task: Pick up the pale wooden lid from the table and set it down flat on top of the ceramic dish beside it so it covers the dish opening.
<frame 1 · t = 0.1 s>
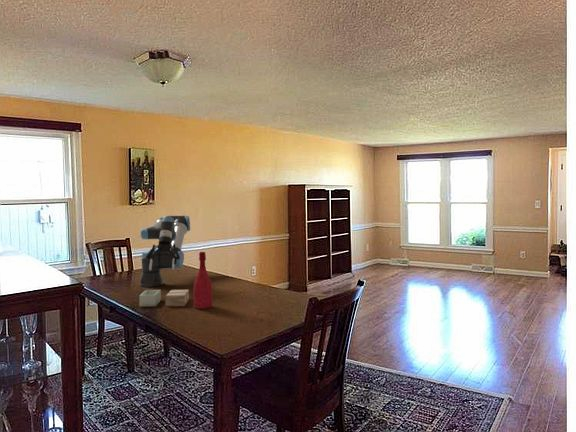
hand: (161, 269, 258), 15 cm above the table, tool tilted 35°, fingers open, 13 cm apart
lid: (177, 303, 240), on the table
wine bottle: (203, 307, 230), on the table
dish: (150, 303, 239), on the table
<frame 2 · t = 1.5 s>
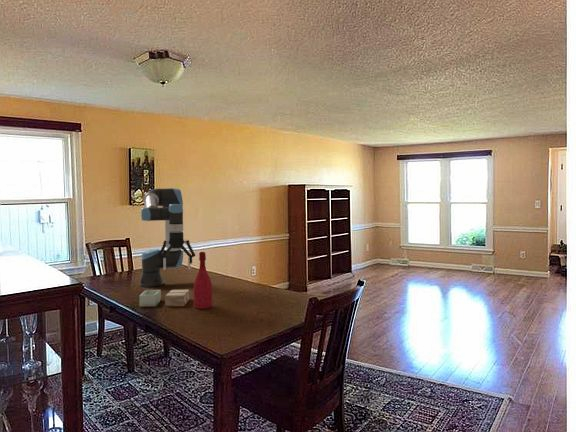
hand: (177, 269, 239), 19 cm above the table, tool pointing down, fingers open, 13 cm apart
nothing on the table moved.
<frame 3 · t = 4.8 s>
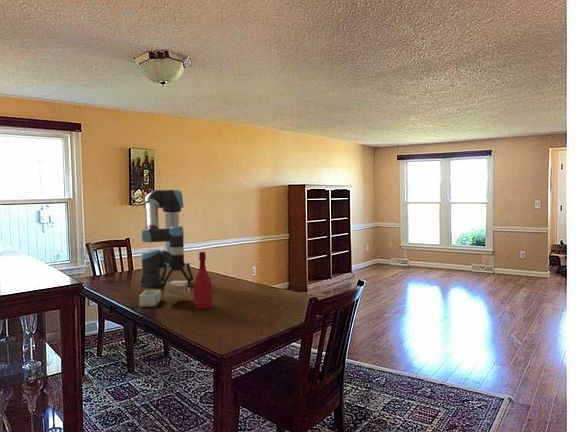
hand: (177, 293, 240), 5 cm above the table, tool pointing down, fingers closed on lid, 10 cm apart
lid: (177, 294, 240), point 5 cm above the table, touching gripper
everything else where it was.
when the fingers open (7 cm above the table, at t = 8.7 s): lid stays where it is, resting on dish.
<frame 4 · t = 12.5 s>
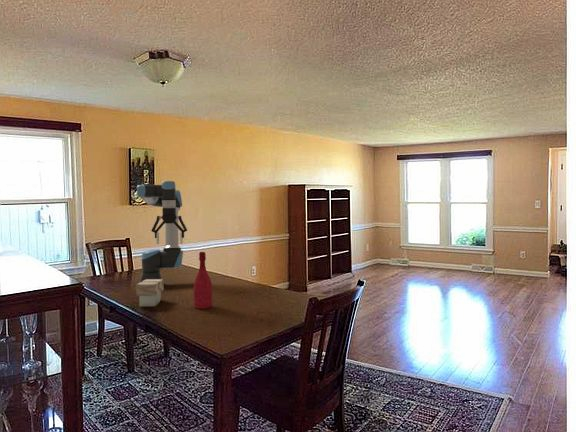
hand: (169, 243, 250), 32 cm above the table, tool pointing down, fingers open, 13 cm apart
lid: (150, 292, 239), point 6 cm above the table, touching dish
everything else where it was.
at the end: lid 0.2 cm off-centre on the dish, point 6.0 cm above the dish's base; lid tilted 0°; the gripper is holding nothing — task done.
